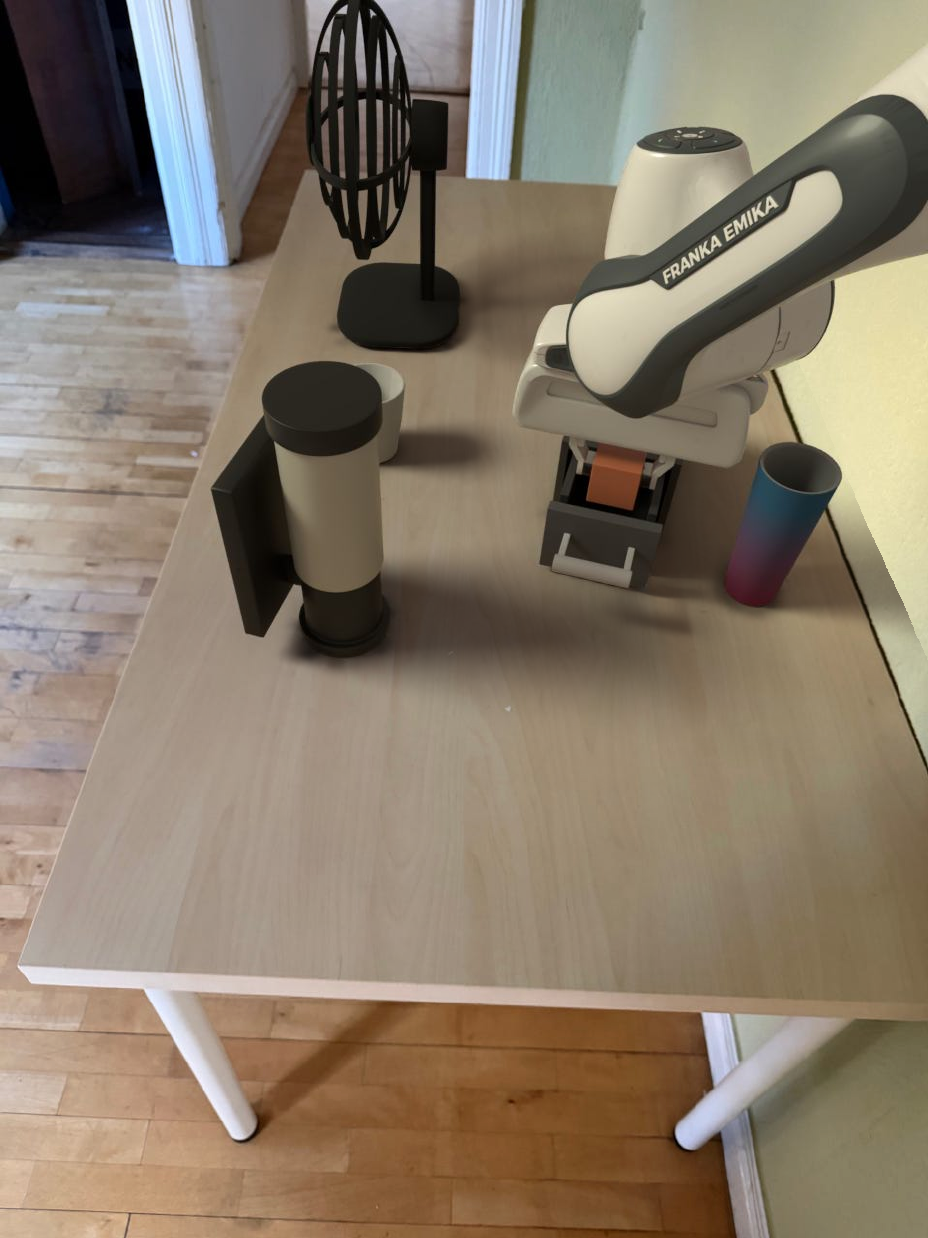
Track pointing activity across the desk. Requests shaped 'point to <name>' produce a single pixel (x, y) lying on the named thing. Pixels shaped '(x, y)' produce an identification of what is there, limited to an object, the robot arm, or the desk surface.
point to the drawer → (601, 534)
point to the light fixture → (310, 508)
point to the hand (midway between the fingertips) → (615, 477)
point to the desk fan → (382, 292)
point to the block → (616, 476)
